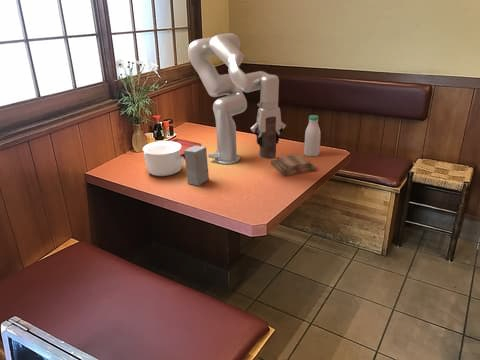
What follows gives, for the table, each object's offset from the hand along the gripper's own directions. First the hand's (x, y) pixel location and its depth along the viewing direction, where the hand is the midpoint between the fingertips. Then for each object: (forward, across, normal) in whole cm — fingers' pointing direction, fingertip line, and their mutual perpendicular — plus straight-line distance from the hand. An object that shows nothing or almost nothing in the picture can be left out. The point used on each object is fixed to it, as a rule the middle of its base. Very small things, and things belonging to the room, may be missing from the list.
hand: (267, 143), depth 184 cm
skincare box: (+16, -31, +5) cm, 36 cm away
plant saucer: (+18, -31, +46) cm, 58 cm away
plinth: (+15, +15, +3) cm, 21 cm away
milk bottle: (+15, +31, +14) cm, 37 cm away
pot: (+17, -43, +22) cm, 51 cm away
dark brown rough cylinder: (+7, 0, 0) cm, 7 cm away
